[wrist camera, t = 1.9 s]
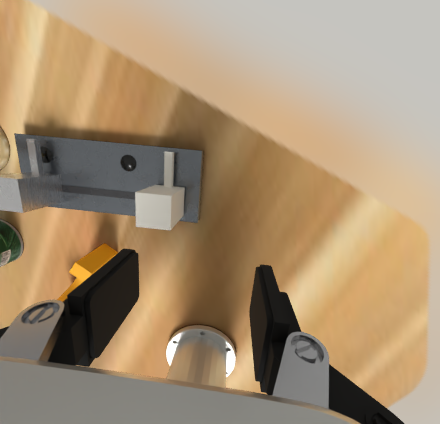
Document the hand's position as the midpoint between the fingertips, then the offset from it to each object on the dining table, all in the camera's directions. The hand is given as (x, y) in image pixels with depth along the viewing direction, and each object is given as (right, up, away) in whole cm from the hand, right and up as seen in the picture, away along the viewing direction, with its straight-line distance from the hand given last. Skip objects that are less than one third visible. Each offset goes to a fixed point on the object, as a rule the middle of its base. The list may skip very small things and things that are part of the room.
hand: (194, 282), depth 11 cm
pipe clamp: (-19, -7, +24) cm, 32 cm away
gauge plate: (-14, +9, +19) cm, 25 cm away
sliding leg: (-5, +8, +17) cm, 19 cm away
